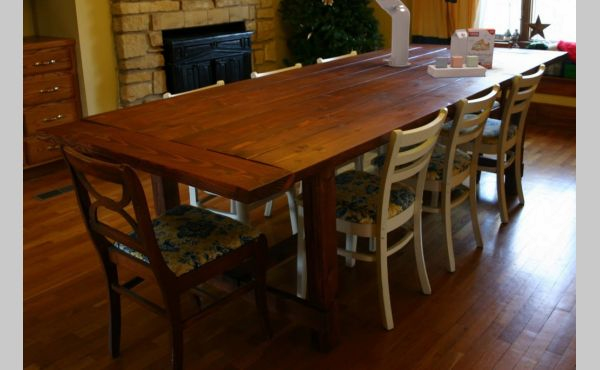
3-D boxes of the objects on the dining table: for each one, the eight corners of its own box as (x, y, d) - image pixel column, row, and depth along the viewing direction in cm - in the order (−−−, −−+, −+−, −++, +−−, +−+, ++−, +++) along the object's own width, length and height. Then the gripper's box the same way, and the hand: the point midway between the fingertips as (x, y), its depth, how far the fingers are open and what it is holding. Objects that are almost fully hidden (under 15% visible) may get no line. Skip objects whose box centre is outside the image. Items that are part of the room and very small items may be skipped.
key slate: (437, 68, 317) (438, 58, 315) (435, 66, 321) (435, 56, 320) (447, 67, 317) (447, 57, 315) (444, 66, 322) (444, 56, 320)
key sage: (468, 67, 318) (469, 57, 316) (465, 65, 322) (466, 55, 321) (477, 66, 318) (478, 57, 316) (474, 65, 323) (475, 55, 321)
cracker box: (465, 68, 337) (468, 29, 330) (464, 67, 343) (467, 28, 336) (492, 68, 335) (495, 29, 328) (490, 67, 341) (494, 27, 334)
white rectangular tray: (434, 77, 314) (435, 69, 312) (427, 73, 327) (427, 65, 326) (485, 76, 315) (485, 68, 314) (476, 71, 328) (476, 63, 327)
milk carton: (449, 63, 355) (451, 29, 349) (459, 62, 358) (461, 28, 352) (457, 65, 349) (459, 30, 343) (467, 64, 352) (470, 29, 346)
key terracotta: (453, 67, 317) (453, 57, 316) (450, 66, 322) (451, 56, 320) (462, 67, 318) (463, 57, 316) (459, 65, 322) (460, 56, 320)
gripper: (440, -31, 338) (438, 2, 344) (450, -31, 322) (449, 4, 327) (453, -32, 339) (452, 1, 344) (464, -31, 322) (463, 3, 328)
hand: (450, 2), depth 336 cm, fingers open, 9 cm apart
